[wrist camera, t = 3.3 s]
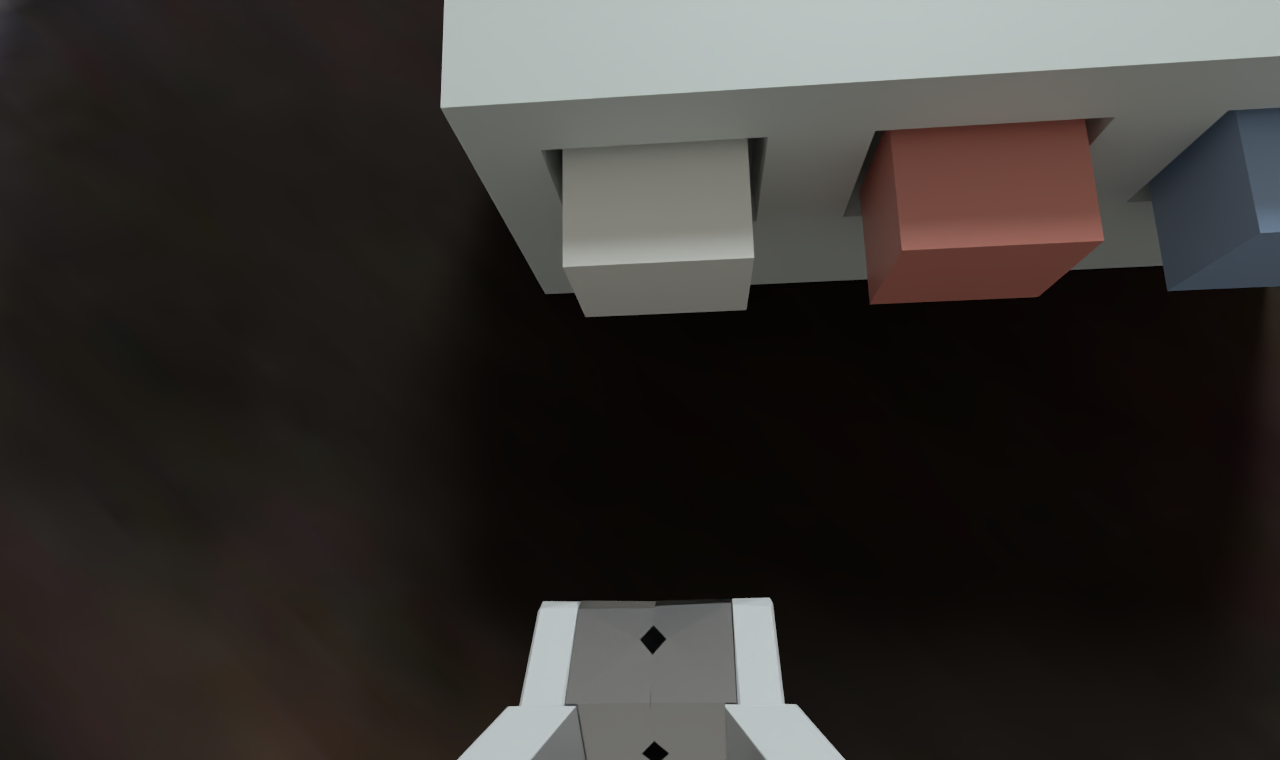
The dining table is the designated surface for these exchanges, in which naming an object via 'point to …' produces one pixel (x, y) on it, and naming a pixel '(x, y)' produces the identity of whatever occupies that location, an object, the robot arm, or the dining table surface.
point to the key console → (840, 99)
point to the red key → (978, 211)
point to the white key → (658, 227)
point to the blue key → (1222, 206)
